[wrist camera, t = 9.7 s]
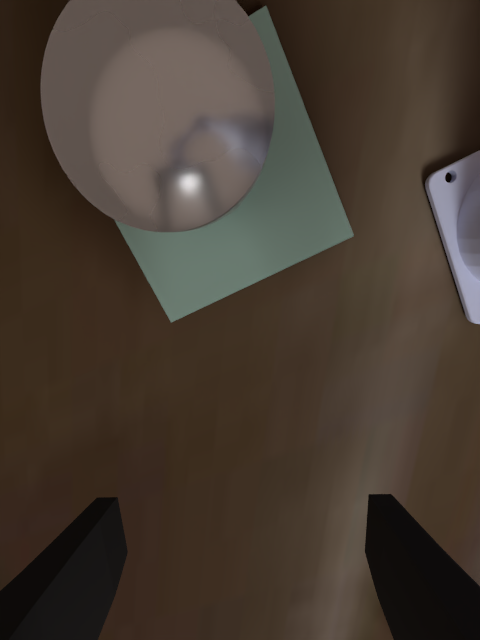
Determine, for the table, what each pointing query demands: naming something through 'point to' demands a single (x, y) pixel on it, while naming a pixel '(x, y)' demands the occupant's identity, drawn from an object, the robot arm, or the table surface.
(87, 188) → the polished metal knob
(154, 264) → the rubber mat
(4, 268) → the table surface
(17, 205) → the table surface
